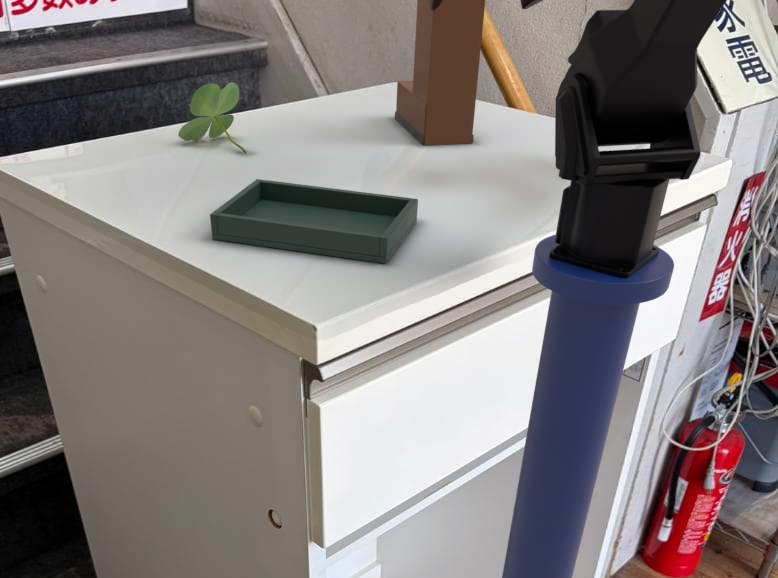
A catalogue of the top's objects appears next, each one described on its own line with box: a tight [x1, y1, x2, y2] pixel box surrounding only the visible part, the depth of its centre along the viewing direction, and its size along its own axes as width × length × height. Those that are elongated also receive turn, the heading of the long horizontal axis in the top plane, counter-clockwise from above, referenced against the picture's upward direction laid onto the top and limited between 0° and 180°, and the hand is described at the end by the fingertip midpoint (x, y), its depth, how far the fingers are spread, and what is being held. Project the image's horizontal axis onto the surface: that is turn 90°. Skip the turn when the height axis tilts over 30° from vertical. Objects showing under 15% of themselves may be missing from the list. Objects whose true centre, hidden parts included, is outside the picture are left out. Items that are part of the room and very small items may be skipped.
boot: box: [394, 0, 486, 146], centre depth 90 cm, size 11×6×14 cm, turn 15°
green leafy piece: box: [177, 81, 248, 155], centre depth 86 cm, size 7×8×7 cm
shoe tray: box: [209, 178, 419, 264], centre depth 69 cm, size 15×10×2 cm, turn 74°
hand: (477, 5), depth 78 cm, fingers open, 9 cm apart
